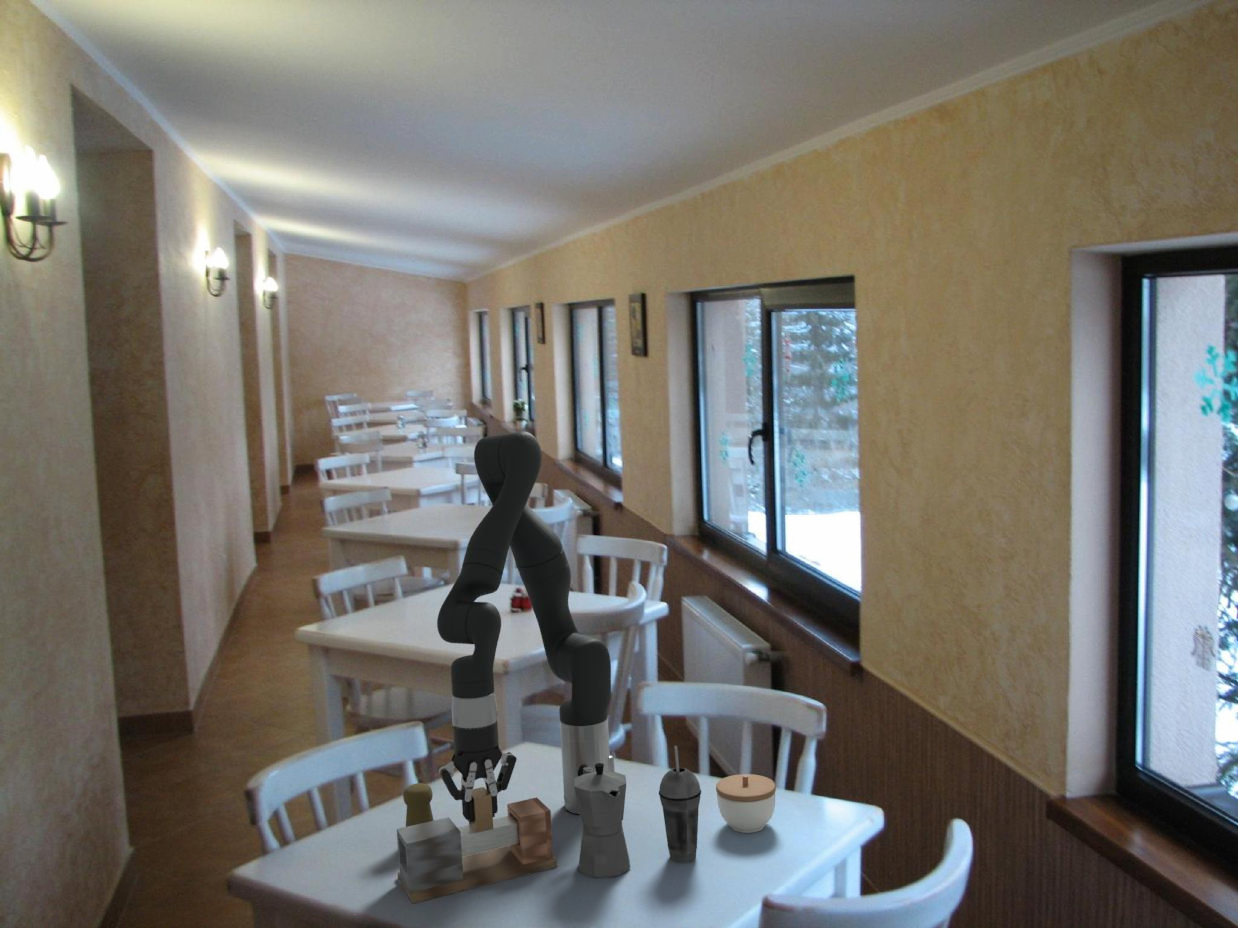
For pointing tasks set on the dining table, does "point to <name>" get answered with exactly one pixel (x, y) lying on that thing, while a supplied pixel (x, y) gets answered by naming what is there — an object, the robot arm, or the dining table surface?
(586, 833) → the coffeepot
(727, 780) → the lidded jar
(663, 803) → the beverage cup
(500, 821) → the two-tone wooden block
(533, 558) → the robot arm
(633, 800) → the dining table surface
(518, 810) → the block assembly on base
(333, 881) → the dining table surface
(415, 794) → the cork
